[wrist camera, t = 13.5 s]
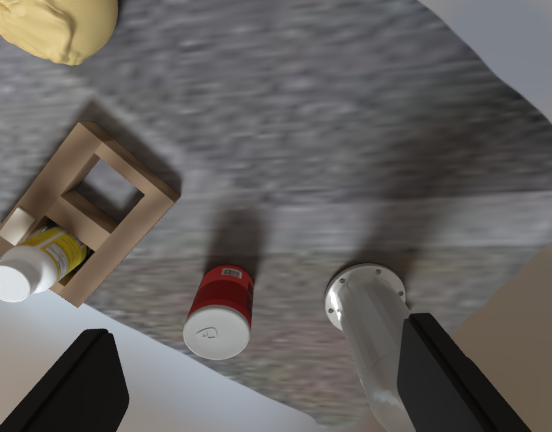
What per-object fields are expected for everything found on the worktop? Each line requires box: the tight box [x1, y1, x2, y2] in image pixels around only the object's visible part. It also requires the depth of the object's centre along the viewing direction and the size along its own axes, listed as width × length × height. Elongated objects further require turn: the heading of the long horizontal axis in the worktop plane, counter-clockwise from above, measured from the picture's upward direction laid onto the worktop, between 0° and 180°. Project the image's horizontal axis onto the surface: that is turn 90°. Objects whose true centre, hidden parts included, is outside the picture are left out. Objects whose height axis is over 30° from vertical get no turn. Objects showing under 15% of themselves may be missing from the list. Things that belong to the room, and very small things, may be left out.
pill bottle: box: [0, 225, 91, 302], centre depth 37 cm, size 6×6×11 cm
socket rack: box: [0, 121, 181, 308], centre depth 40 cm, size 14×22×3 cm, turn 135°
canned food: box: [183, 264, 254, 360], centre depth 40 cm, size 8×8×11 cm
